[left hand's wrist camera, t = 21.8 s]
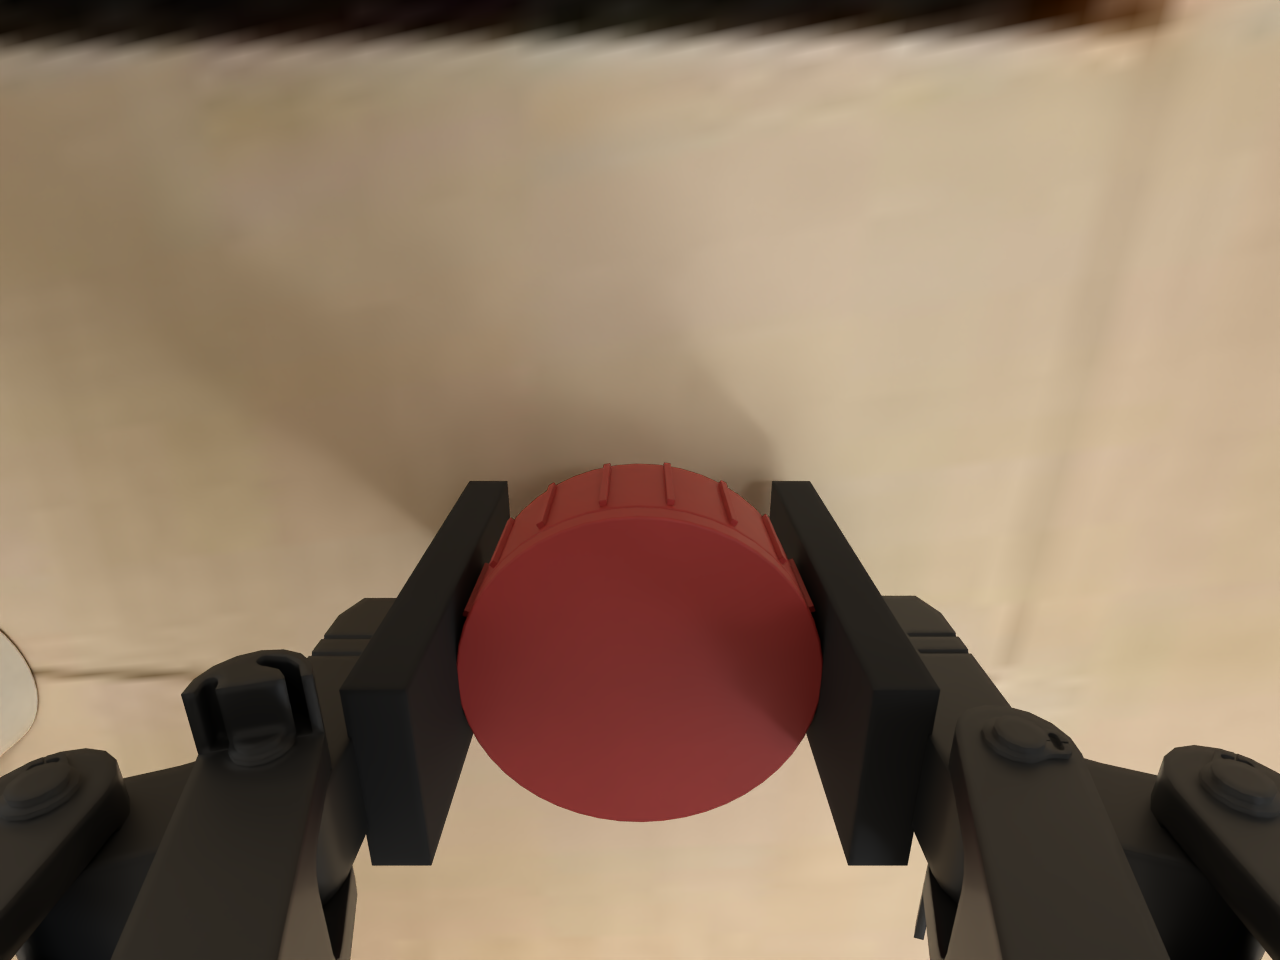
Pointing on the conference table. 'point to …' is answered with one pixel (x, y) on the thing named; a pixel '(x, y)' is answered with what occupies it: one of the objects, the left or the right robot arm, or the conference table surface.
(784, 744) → the lid
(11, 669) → the jar
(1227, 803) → the left robot arm
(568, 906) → the conference table surface
